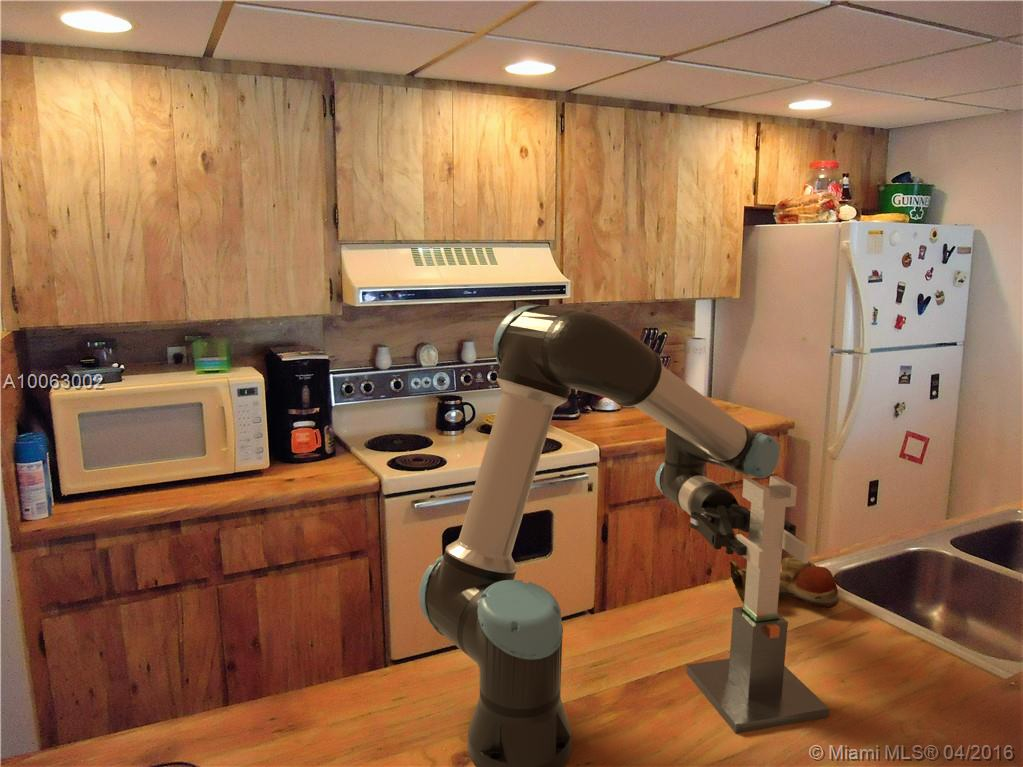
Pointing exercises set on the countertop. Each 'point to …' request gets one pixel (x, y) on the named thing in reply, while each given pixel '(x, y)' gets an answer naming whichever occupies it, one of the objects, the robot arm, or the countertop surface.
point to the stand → (756, 679)
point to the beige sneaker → (797, 582)
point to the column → (766, 545)
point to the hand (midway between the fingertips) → (784, 557)
